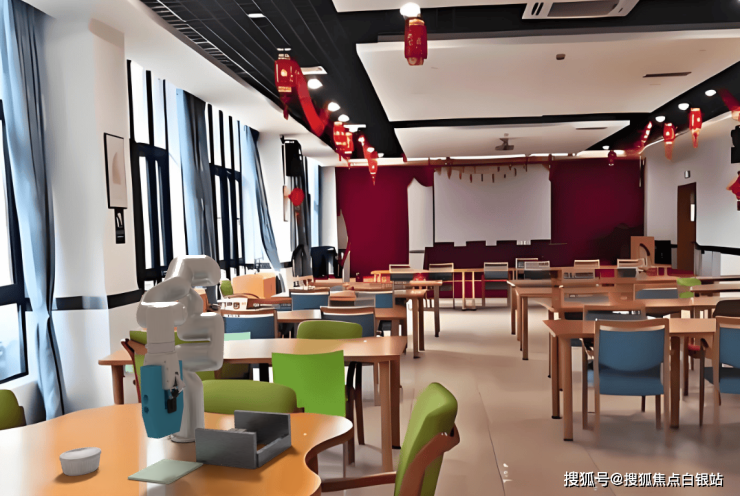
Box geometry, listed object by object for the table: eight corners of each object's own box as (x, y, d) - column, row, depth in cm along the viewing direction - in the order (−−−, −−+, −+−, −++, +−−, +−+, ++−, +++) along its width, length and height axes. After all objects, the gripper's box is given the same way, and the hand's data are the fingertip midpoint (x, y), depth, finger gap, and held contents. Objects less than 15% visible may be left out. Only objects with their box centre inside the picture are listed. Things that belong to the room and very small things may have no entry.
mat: (127, 479, 172) (127, 476, 172) (163, 460, 186) (163, 458, 186) (168, 484, 167) (168, 481, 167) (202, 465, 181) (202, 463, 181)
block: (153, 440, 170) (151, 367, 170) (141, 438, 172) (138, 366, 173) (185, 429, 181) (183, 360, 181) (173, 427, 183) (171, 359, 183)
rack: (196, 462, 183) (194, 429, 183) (237, 440, 204) (236, 409, 204) (256, 469, 176) (254, 434, 176) (292, 445, 197) (291, 413, 197)
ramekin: (90, 461, 189) (90, 444, 189) (109, 468, 182) (108, 450, 182) (53, 472, 180) (52, 454, 180) (70, 480, 173) (70, 461, 173)
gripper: (127, 349, 176) (130, 413, 176) (177, 350, 170) (179, 416, 170) (146, 345, 183) (148, 406, 183) (194, 346, 177) (196, 410, 177)
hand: (163, 411), depth 177 cm, fingers closed on block, 5 cm apart
